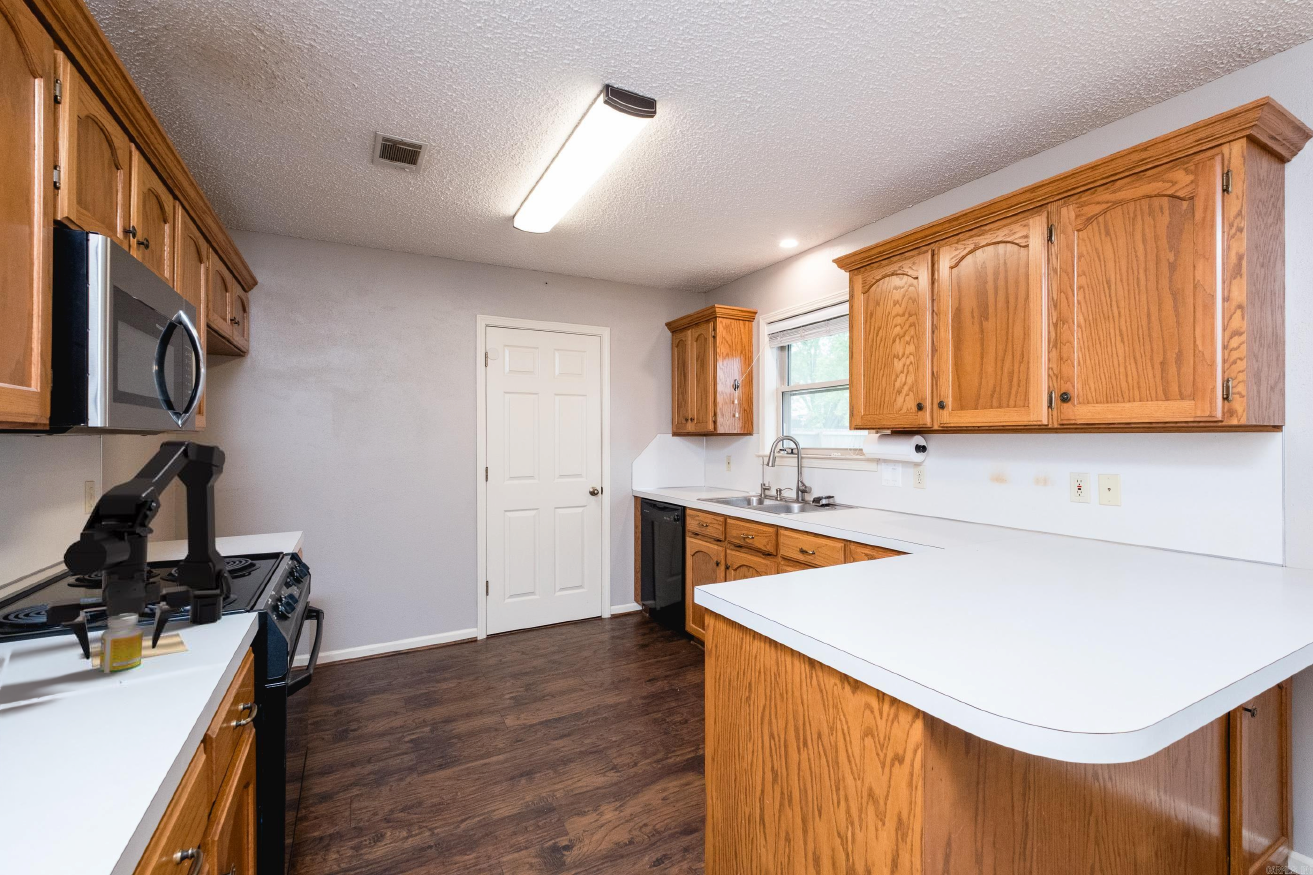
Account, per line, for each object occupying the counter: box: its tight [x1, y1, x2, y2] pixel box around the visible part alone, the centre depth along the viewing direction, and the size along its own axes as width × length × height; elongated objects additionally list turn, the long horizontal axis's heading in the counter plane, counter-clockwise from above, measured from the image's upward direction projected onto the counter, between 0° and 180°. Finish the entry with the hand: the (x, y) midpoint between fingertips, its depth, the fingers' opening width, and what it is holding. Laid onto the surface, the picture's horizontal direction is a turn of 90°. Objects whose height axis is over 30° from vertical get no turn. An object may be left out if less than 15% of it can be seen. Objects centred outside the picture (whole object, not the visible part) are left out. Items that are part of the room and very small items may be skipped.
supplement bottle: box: [99, 613, 144, 674], centre depth 103 cm, size 5×5×10 cm
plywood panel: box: [90, 633, 188, 668], centre depth 112 cm, size 14×13×1 cm
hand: (121, 653), depth 103 cm, fingers open, 8 cm apart
